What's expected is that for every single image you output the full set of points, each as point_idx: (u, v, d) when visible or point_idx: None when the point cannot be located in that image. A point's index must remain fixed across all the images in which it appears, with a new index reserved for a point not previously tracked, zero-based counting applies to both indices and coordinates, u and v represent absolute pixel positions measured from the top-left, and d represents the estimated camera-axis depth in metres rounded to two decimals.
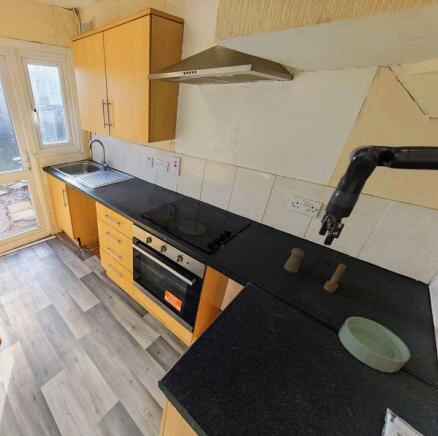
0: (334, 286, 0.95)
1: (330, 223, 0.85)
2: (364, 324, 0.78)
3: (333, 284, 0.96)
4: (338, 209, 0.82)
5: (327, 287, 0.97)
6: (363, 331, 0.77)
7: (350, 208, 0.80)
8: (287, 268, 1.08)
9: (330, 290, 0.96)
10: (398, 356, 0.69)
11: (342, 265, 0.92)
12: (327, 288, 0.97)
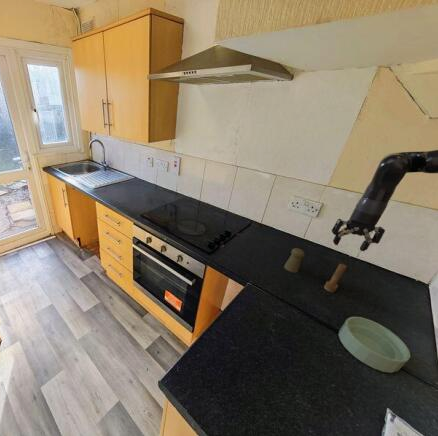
0: (334, 286, 0.95)
1: None
2: (364, 324, 0.78)
3: (333, 284, 0.96)
4: (353, 211, 0.85)
5: (327, 287, 0.97)
6: (363, 331, 0.77)
7: (359, 211, 0.81)
8: (287, 268, 1.08)
9: (330, 290, 0.96)
10: (398, 356, 0.69)
11: (342, 265, 0.92)
12: (327, 288, 0.97)
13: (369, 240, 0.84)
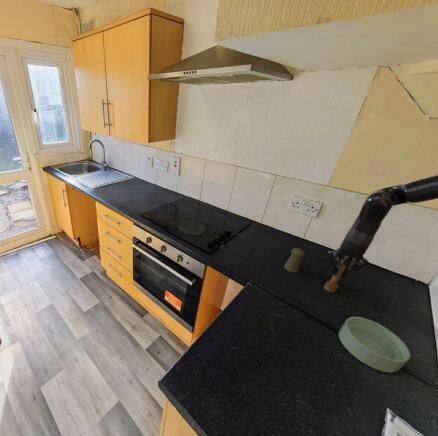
0: (334, 286, 0.95)
1: None
2: (364, 324, 0.78)
3: (333, 284, 0.96)
4: (343, 240, 0.90)
5: (327, 287, 0.97)
6: (363, 331, 0.77)
7: (348, 242, 0.87)
8: (287, 268, 1.08)
9: (330, 290, 0.96)
10: (398, 356, 0.69)
11: (342, 265, 0.92)
12: (327, 288, 0.97)
13: (349, 268, 0.91)
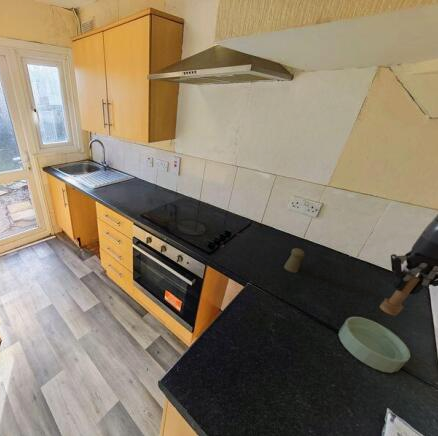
0: (398, 307, 0.66)
1: None
2: (364, 324, 0.78)
3: (396, 304, 0.66)
4: (417, 239, 0.60)
5: (386, 308, 0.67)
6: (363, 331, 0.77)
7: (429, 242, 0.57)
8: (287, 268, 1.08)
9: (391, 312, 0.66)
10: (398, 356, 0.69)
11: (413, 277, 0.62)
12: (386, 309, 0.67)
13: (426, 281, 0.61)
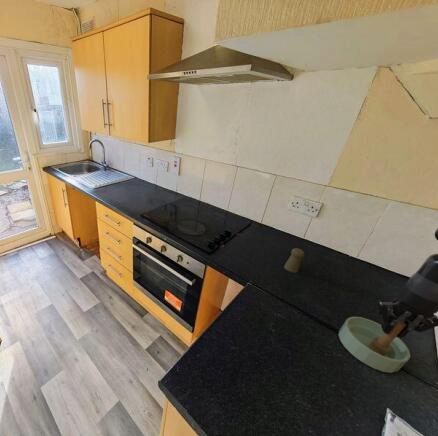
0: (386, 348, 0.69)
1: None
2: (364, 324, 0.78)
3: (384, 345, 0.69)
4: (402, 288, 0.63)
5: (374, 349, 0.71)
6: (363, 331, 0.77)
7: (413, 294, 0.60)
8: (287, 268, 1.08)
9: (379, 353, 0.70)
10: (398, 356, 0.69)
11: (399, 322, 0.66)
12: (375, 350, 0.71)
13: (411, 327, 0.64)
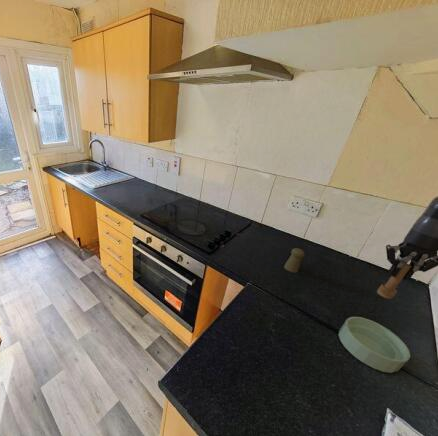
0: (392, 291, 0.75)
1: None
2: (364, 324, 0.78)
3: (391, 288, 0.75)
4: None
5: (382, 292, 0.77)
6: (363, 331, 0.77)
7: (419, 233, 0.66)
8: (287, 268, 1.08)
9: (387, 296, 0.76)
10: (398, 356, 0.69)
11: (405, 264, 0.72)
12: (382, 293, 0.77)
13: (416, 268, 0.70)
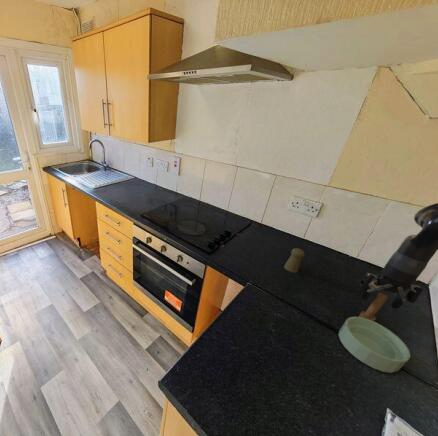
0: (371, 319, 0.81)
1: None
2: (364, 324, 0.78)
3: (370, 316, 0.81)
4: (385, 265, 0.76)
5: None
6: (363, 331, 0.77)
7: (393, 268, 0.72)
8: (287, 268, 1.08)
9: None
10: (398, 356, 0.69)
11: (382, 295, 0.78)
12: None
13: (403, 298, 0.75)
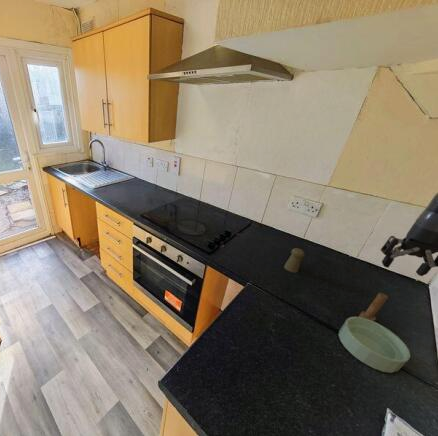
0: (371, 319, 0.81)
1: None
2: (364, 324, 0.78)
3: (370, 316, 0.81)
4: (411, 227, 0.69)
5: None
6: (363, 331, 0.77)
7: (421, 229, 0.66)
8: (287, 268, 1.08)
9: None
10: (398, 356, 0.69)
11: (382, 295, 0.78)
12: None
13: (431, 263, 0.68)
